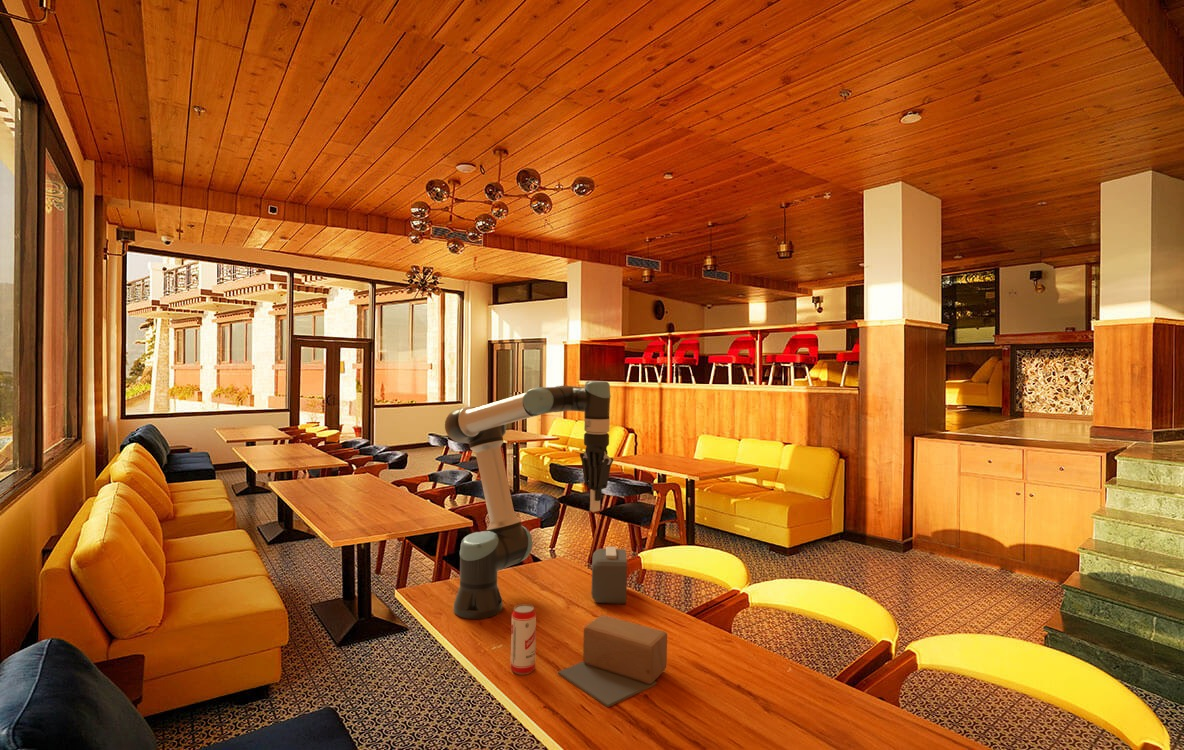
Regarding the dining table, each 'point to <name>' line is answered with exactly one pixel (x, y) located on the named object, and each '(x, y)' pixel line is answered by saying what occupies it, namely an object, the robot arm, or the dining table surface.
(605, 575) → the alarm clock
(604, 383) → the robot arm
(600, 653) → the wooden block
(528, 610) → the beer can
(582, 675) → the mat
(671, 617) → the dining table surface
